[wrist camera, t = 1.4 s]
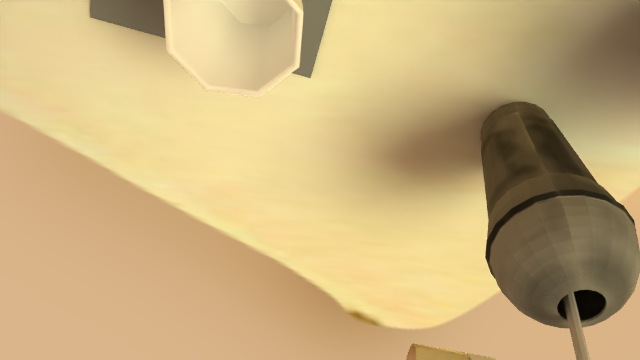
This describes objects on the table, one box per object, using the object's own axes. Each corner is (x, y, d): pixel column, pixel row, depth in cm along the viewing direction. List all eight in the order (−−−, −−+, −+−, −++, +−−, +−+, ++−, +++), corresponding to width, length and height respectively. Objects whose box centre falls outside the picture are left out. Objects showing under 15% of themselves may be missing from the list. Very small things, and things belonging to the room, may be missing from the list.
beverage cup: (597, 107, 38) (765, 368, 22) (532, 192, 42) (632, 465, 26) (496, 64, 37) (593, 305, 21) (439, 155, 41) (482, 417, 25)
